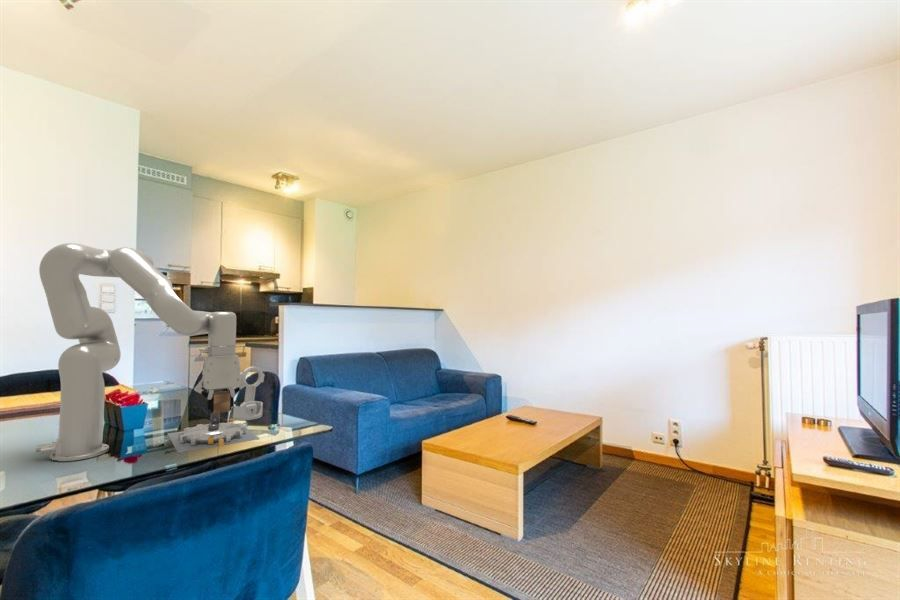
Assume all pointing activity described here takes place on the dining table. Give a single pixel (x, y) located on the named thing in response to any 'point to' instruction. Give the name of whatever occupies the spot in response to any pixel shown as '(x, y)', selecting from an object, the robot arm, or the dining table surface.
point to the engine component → (249, 399)
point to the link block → (221, 402)
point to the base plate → (188, 447)
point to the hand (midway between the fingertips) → (220, 410)
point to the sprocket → (212, 432)
